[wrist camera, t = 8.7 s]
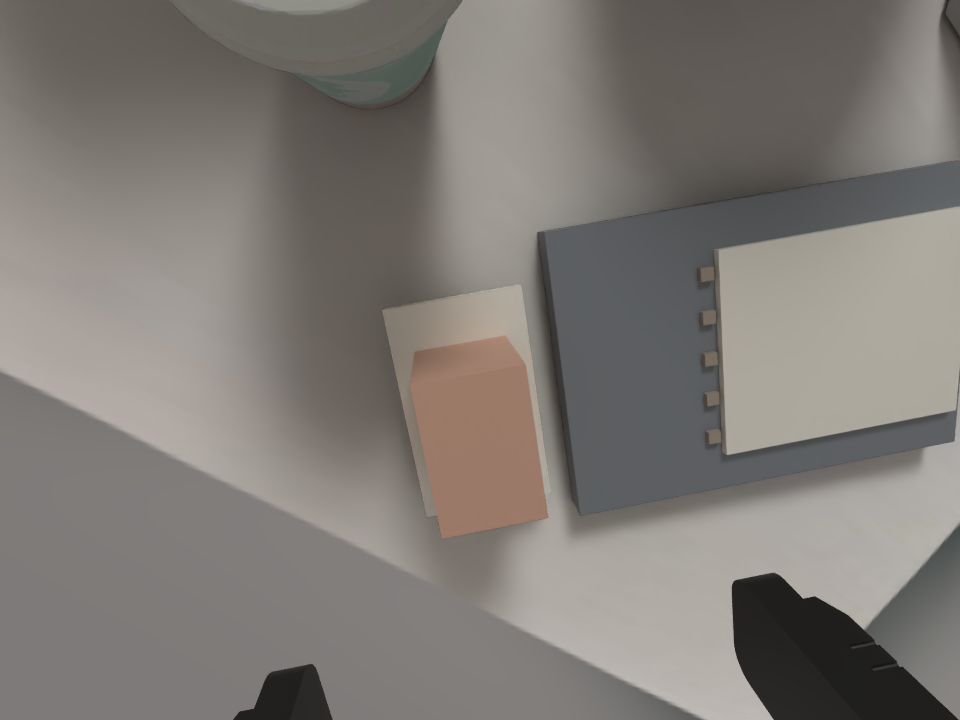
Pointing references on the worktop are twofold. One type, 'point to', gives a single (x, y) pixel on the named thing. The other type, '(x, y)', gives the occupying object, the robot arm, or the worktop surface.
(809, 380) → the board
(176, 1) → the coffee cup
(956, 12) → the flask
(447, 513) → the ticket stub
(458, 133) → the worktop surface
